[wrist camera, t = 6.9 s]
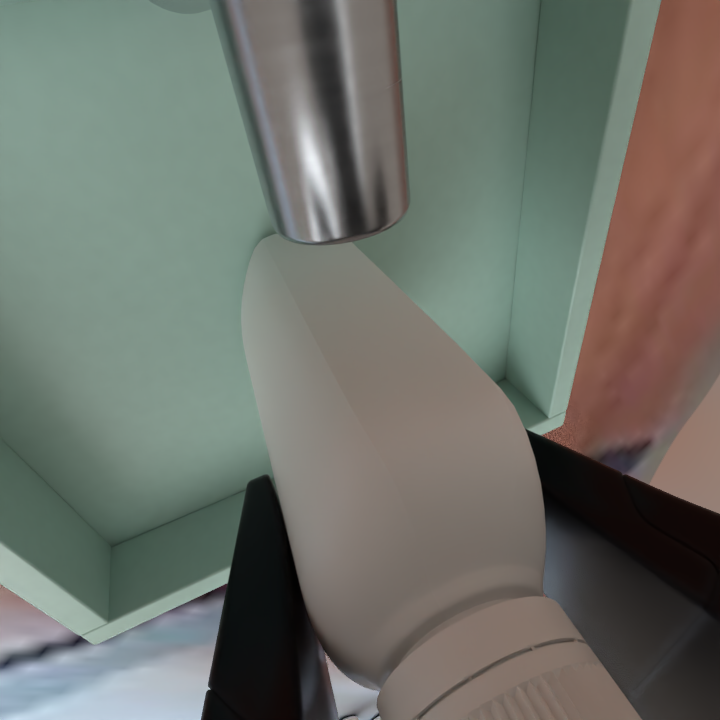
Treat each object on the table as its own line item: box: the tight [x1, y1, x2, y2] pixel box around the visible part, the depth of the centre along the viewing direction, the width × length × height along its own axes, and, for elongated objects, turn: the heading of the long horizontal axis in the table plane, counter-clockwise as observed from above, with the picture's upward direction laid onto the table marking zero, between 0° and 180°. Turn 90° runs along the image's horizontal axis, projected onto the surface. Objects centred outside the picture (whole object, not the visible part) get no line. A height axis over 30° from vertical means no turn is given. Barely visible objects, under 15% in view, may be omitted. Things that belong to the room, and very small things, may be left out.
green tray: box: [0, 0, 661, 645], centre depth 11 cm, size 15×17×3 cm
